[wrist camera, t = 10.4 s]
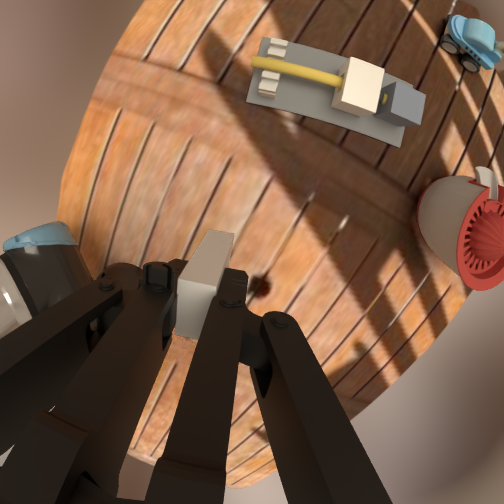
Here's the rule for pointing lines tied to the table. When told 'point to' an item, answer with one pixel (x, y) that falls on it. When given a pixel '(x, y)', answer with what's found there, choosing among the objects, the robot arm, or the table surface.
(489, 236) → the citrus juicer
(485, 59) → the toy excavator
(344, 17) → the table surface
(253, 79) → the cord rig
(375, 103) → the sleeve
